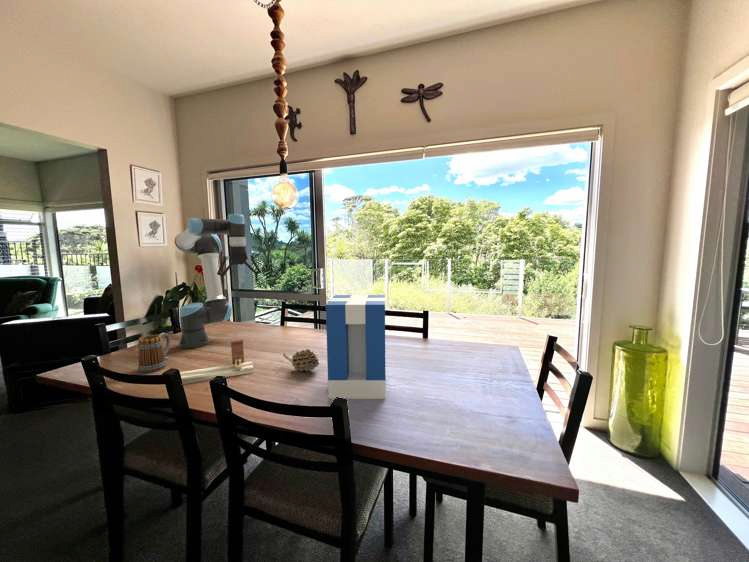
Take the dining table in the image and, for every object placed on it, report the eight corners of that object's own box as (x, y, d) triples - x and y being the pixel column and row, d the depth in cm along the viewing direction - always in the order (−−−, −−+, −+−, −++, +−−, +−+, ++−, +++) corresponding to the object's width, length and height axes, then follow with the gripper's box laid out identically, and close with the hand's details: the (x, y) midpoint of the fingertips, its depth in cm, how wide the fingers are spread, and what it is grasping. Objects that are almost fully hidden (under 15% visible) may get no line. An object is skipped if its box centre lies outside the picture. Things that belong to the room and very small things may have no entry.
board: (178, 376, 135) (177, 372, 135) (252, 365, 147) (252, 361, 147) (174, 385, 127) (174, 380, 127) (253, 372, 139) (253, 368, 139)
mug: (152, 374, 139) (148, 341, 137) (132, 372, 141) (129, 340, 139) (180, 361, 154) (177, 331, 152) (162, 359, 156) (159, 330, 154)
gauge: (232, 364, 148) (231, 339, 147) (244, 362, 150) (242, 338, 149) (232, 375, 135) (230, 349, 134) (245, 373, 137) (243, 347, 136)
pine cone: (324, 370, 141) (324, 348, 140) (310, 378, 133) (310, 355, 132) (288, 361, 152) (287, 341, 150) (273, 368, 143) (272, 347, 142)
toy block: (337, 374, 136) (334, 295, 132) (385, 374, 135) (384, 294, 131) (328, 398, 115) (325, 304, 111) (385, 398, 114) (384, 304, 110)
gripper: (209, 246, 147) (212, 290, 150) (264, 245, 157) (267, 287, 160) (210, 246, 154) (213, 288, 157) (263, 245, 164) (265, 285, 167)
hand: (240, 288), depth 158 cm, fingers open, 13 cm apart
